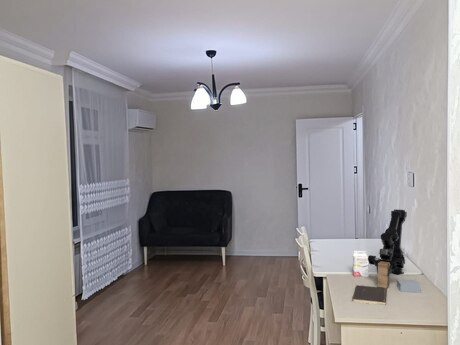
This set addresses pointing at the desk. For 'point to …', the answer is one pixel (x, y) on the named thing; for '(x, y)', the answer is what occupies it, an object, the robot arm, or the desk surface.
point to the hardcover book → (370, 294)
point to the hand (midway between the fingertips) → (383, 274)
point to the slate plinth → (408, 285)
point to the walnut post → (383, 274)
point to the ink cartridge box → (360, 264)
